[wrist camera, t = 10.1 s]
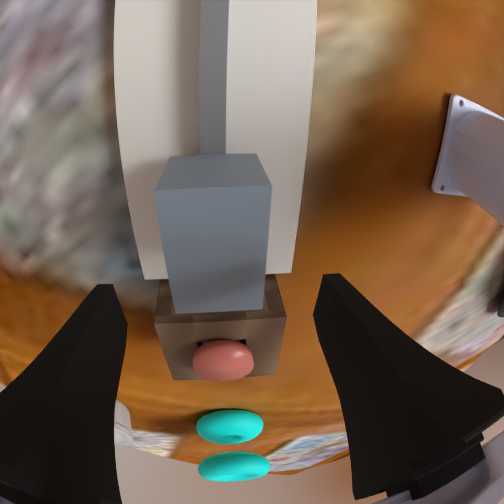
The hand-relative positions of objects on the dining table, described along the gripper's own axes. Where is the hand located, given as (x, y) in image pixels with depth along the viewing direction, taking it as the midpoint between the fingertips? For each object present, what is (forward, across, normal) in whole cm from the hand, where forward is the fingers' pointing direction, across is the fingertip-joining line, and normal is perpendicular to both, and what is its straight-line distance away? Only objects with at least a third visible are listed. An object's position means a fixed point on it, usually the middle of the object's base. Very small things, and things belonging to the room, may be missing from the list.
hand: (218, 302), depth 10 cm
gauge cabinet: (+9, 0, +10) cm, 13 cm away
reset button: (+8, 0, +9) cm, 12 cm away
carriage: (+8, 0, 0) cm, 8 cm away
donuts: (+10, 0, +36) cm, 37 cm away
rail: (+9, 0, -6) cm, 11 cm away
